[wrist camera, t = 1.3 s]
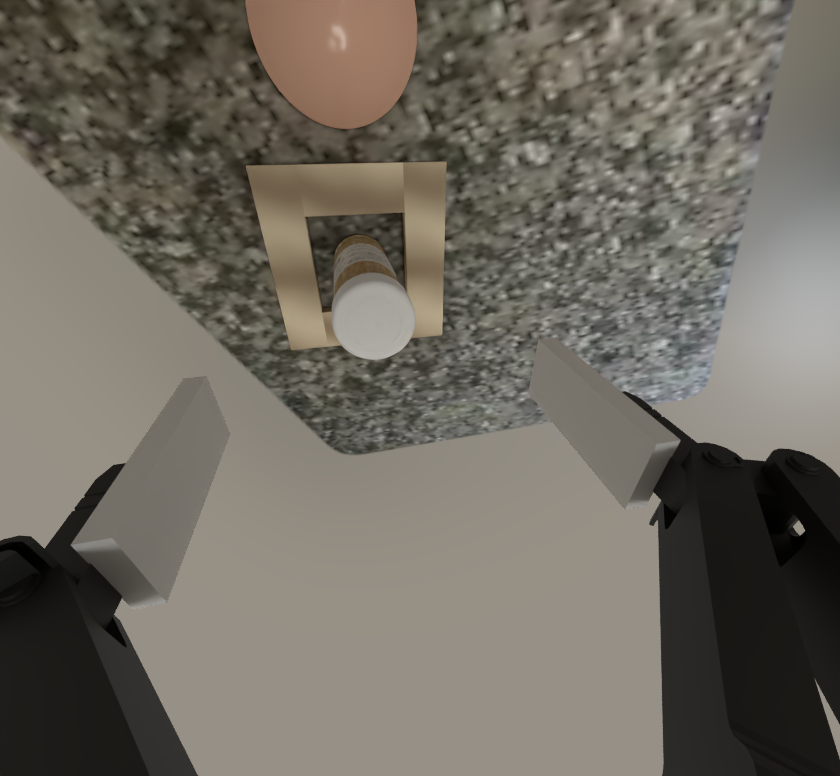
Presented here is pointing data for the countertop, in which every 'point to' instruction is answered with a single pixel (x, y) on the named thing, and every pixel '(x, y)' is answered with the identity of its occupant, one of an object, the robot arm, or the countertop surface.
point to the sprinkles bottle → (369, 301)
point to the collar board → (350, 195)
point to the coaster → (336, 55)
